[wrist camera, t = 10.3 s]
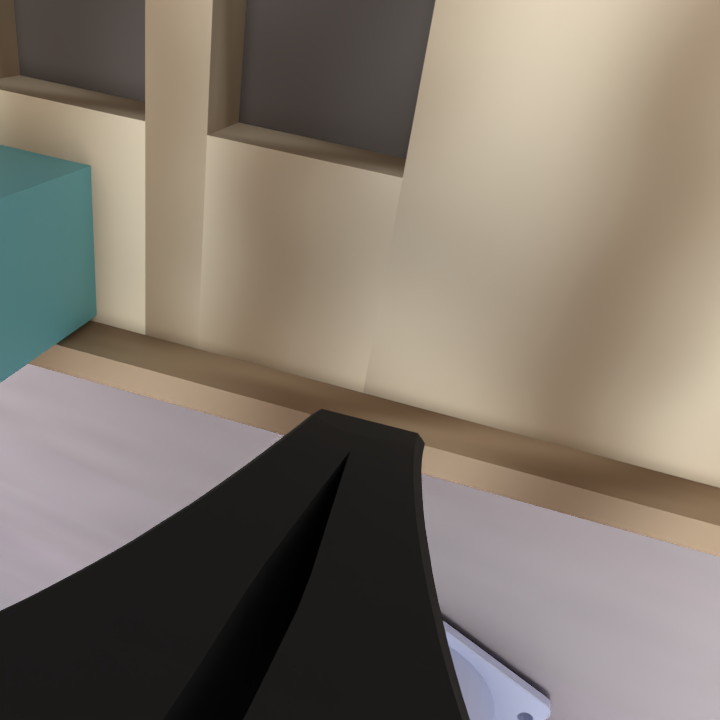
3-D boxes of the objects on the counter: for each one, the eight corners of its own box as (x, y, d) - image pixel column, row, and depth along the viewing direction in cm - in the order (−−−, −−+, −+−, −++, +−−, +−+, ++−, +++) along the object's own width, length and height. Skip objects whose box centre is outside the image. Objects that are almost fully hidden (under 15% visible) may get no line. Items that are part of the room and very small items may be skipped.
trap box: (1173, -142, 11) (1395, -192, 8) (791, 491, 18) (839, 590, 15) (-82, -309, 15) (-246, -390, 12) (-10, 280, 21) (-103, 327, 18)
